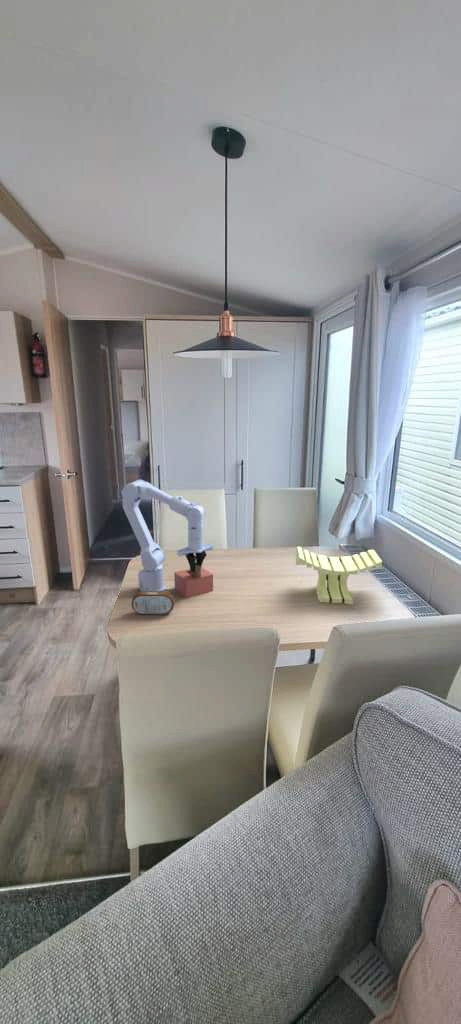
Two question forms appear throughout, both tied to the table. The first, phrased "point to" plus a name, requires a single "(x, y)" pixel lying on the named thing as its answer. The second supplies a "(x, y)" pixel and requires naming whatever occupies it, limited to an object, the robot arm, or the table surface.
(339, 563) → the slatted curved stool
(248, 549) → the table surface
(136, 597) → the tin
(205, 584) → the money box
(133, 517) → the robot arm
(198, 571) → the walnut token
